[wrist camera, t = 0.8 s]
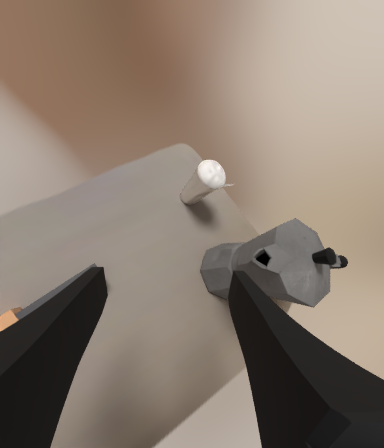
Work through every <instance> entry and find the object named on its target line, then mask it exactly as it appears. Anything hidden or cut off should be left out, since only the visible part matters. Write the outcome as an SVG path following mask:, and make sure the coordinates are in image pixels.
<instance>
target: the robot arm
mask: <svg viewBox="0 0 384 448" xmlns="http://www.w3.org/2000/svg"><path fill="white" fill-rule="evenodd" d="M107 296H108V294H107V287H106V281H105V275H104V268H103V267H91V268H90V269H88V270H87V271H86V272H84V273H83V274H82V275H81V276H79V277H78V278H77V279H76V280H74V281H73V282H72V283H71V284H69V285H68V286H67V287H65V288H64V289H63V290H62V291H60V292H59V293H58V294H56V295H55V296H53V297H52V298H51V299H49V300H48V301H46V302H45V303H44V304H42V305H41V306H40V307H38V308H37V309H35V310H34V311H32V312H31V313H29V314H28V315H26V316H25V317H23V318H22V319H20V320H18V321H17V322H15V323H14V324H12V325H10V326H9V327H7V328H5V329H4V330H2V331H0V448H50V446H51V443H52V440H53V437H54V434H55V431H56V428H57V425H58V421H59V418H60V415H61V412H62V410H63V407H64V404H65V401H66V398H67V395H68V392H69V389H70V386H71V384H72V381H73V378H74V375H75V373H76V370H77V367H78V365H79V363H80V360H81V358H82V356H83V353H84V351H85V349H86V347H87V345H88V343H89V340H90V338H91V336H92V334H93V332H94V330H95V328H96V325H97V323H98V321H99V319H100V317H101V314H102V312H103V309H104V306H105V302H106V299H107ZM228 301H229V307H230V312H231V316H232V320H233V323H234V326H235V330H236V333H237V336H238V339H239V343H240V346H241V349H242V352H243V356H244V359H245V363H246V367H247V372H248V376H249V381H250V385H251V390H252V396H253V401H254V406H255V411H256V416H257V422H258V428H259V433H260V439H261V445H262V448H384V380H383V379H381V378H379V377H377V376H376V375H374V374H372V373H370V372H369V371H367V370H365V369H363V368H362V367H360V366H359V365H357V364H355V363H354V362H352V361H351V360H349V359H347V358H346V357H344V356H343V355H341V354H340V353H338V352H337V351H335V350H333V349H332V348H331V347H329V346H328V345H326V344H325V343H324V342H322V341H321V340H319V339H318V338H317V337H315V336H314V335H312V334H311V333H310V332H308V331H307V330H306V329H305V328H303V327H302V326H301V325H299V324H298V323H297V322H296V321H295V320H293V319H292V318H291V317H290V316H289V315H288V314H286V313H285V312H284V311H283V310H282V309H281V308H280V307H279V306H278V305H277V304H275V303H274V302H273V301H272V300H271V299H270V298H269V297H268V296H267V295H266V294H265V293H264V292H263V291H262V290H261V289H260V288H259V286H258V285H257V284H256V283H255V282H254V281H253V280H252V279H251V278H250V277H249V276H248V275H247V274H246V273H245V272H244V271H236V270H233V274H232V279H231V284H230V289H229V294H228Z"/></svg>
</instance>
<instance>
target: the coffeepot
mask: <svg viewBox="0 0 384 448" xmlns="http://www.w3.org/2000/svg"><path fill="white" fill-rule="evenodd" d="M347 264H348V261H347V259H346V258H345V257H344V256H341V255H340V256H338V255H336V254H335V252H334V250H332V249H331V248H326V249H324V247H323V245H322V243H321V241H320V239H319V237H318V235H317V233H316V232H315V231H314V230H312V229H311V228H309V227H308V226H306V225H305V224H304V223H302V222H301V221H299V220H298V219H296V218H295V219H293V220H290V221H288V222H286V223H283V224H281V225H279V226H277V227H275V228H273V229H272V230H270V231H268V232H266V233H264V234H262V235H260V236H258V237H256V238H254V239H252V240H250V241H249V242H247V243H226V244H220V245H218V246H216V247H213V248H211V249H209V250H207V251H206V253H205V256H204V258H203V261H202V267H201V274H202V277H203V280H204V283H205V285H206V286H207V288H208V291H209V292H211V293H213V294H215V295H217V296H220V297H222V298H224V299H228V294H229V289H230V284H231V279H232V274H233V270H236V271H244V272H245V273H246V274H247V275H248V276H249V277H250V278H251V279H252V280H253V281H254V282H255V283H256V284H257V285H258V286H259V288H260V289H261V290H262V291H263V292H264V293H265V294H266V295H267V296H268V297H272V298H276V299H281V300H285V301H289V302H293V303H297V304H301V305H305V306H310V307H315V306H316V305H317V304H318V303H319V302H320V301H321V300H322V299H323V298H324V296H326V295H327V294H328V293H329V292H330V269H331V268H333V269H334V268H344V267H346V266H347Z"/></svg>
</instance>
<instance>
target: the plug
mask: <svg viewBox="0 0 384 448" xmlns="http://www.w3.org/2000/svg"><path fill="white" fill-rule="evenodd" d="M91 267H97V266H96V265H95V263H94V264H92V265H91V266H89V267H88V268H86V269H85V270H83V271H82V272H80V273H79V274H77V275H75V276H74V277H72V278H71V279H69V280H68V281H66V282H65V283H63V284H61V285H60V286H58V287H57V288H55V289H54V290H52V291H51V292H49V293H48V294H46V295H44V296H43V297H41V298H40V299H38V300H37V301H35V302H34V303H32V304H30V305H29V306H27V307H26V308H24V309H23V310H22V309H21V307H19V308H15V309H11V310H9V311H8V312H6V313H4V314H3V315H1V316H0V331H2V330H4V329H5V328H7V327H9V326H10V325H12V324H14V323H15V322H17V321H18V320H20V319H22V318H23V317H25V316H26V315H28V314H29V313H31V312H32V311H34V310H35V309H37V308H38V307H40V306H41V305H42V304H44V303H45V302H46V301H48V300H49V299H51V298H52V297H53V296H55V295H56V294H58V293H59V292H60V291H62V290H63V289H64V288H65V287H67V286H68V285H69V284H71V283H72V282H73V281H74V280H76V279H77V278H78V277H79V276H81V275H82V274H83V273H84V272H86V271H87V270H88V269H90V268H91Z"/></svg>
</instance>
